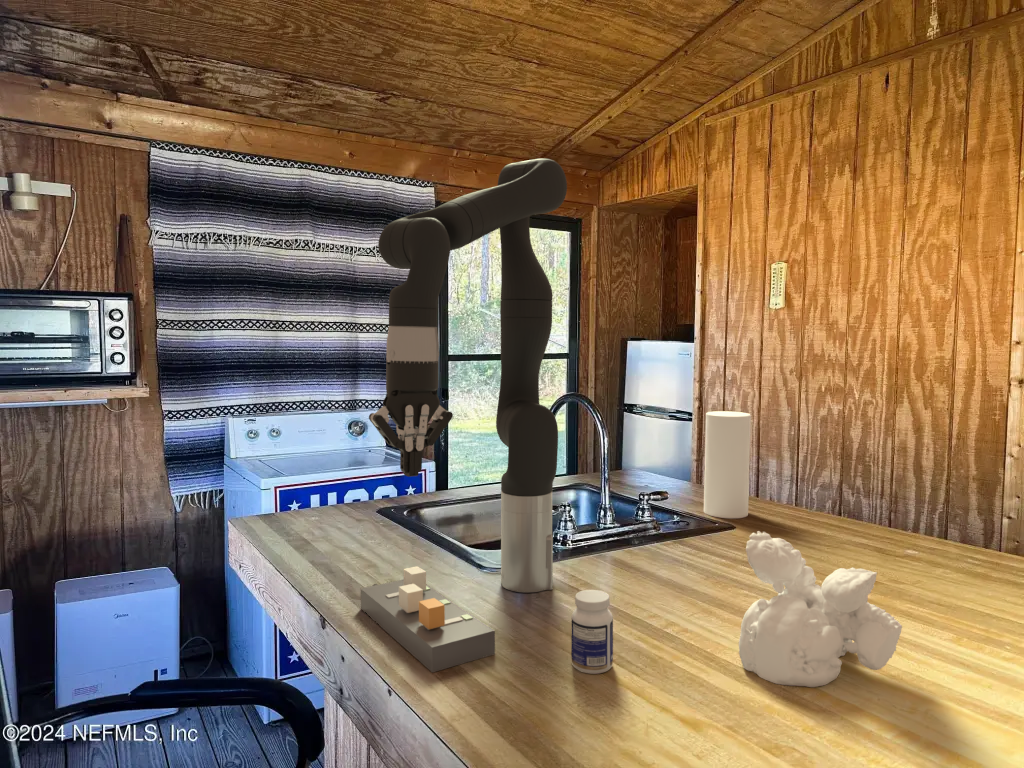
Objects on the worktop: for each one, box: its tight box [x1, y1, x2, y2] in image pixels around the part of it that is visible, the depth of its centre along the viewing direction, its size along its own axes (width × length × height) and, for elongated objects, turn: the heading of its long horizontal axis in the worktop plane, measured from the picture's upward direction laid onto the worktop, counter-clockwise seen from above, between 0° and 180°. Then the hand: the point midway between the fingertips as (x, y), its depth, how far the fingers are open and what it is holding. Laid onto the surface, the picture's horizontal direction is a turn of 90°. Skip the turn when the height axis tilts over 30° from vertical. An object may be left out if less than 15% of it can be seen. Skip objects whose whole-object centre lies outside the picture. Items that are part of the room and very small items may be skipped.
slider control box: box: [359, 578, 496, 673], centre depth 114 cm, size 32×10×4 cm, turn 33°
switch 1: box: [403, 565, 427, 590], centre depth 118 cm, size 2×3×3 cm
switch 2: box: [399, 584, 423, 613], centre depth 110 cm, size 2×3×3 cm
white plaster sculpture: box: [738, 530, 903, 688], centre depth 100 cm, size 19×20×20 cm
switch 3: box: [419, 598, 445, 629], centre depth 104 cm, size 2×3×3 cm
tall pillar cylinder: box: [703, 410, 752, 519], centre depth 180 cm, size 11×11×25 cm
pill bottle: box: [571, 589, 614, 675], centre depth 100 cm, size 6×6×10 cm
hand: (410, 475), depth 106 cm, fingers closed
